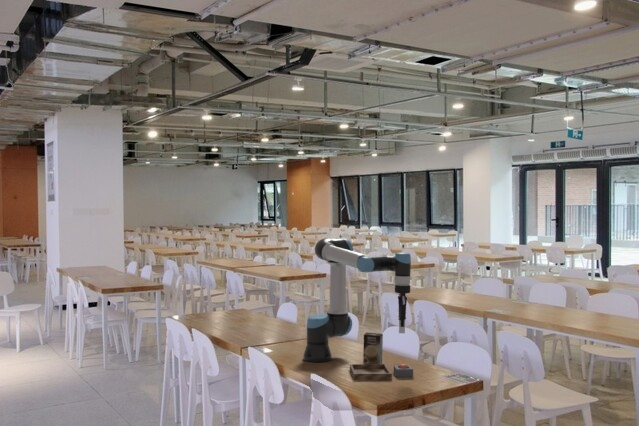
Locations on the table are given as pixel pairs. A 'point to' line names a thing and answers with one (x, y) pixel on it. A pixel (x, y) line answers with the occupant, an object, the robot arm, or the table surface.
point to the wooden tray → (370, 372)
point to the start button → (403, 366)
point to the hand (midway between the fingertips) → (401, 333)
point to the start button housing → (403, 372)
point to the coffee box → (372, 348)
